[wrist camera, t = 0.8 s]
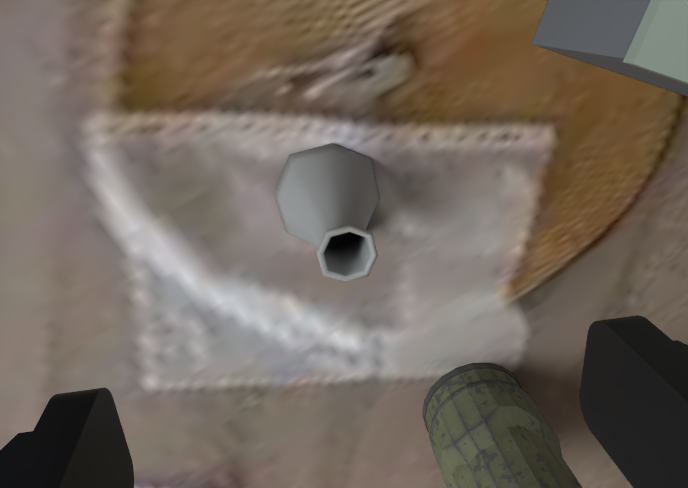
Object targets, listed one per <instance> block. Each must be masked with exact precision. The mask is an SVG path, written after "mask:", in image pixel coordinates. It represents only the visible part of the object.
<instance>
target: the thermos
mask: <svg viewBox="0 0 688 488" xmlns="http://www.w3.org/2000/svg"><path fill="white" fill-rule="evenodd" d="M423 418H424V422H425V426H426V428H427V431H428V432H429V433H430V434H429V438H430V441H431V445H432V449H433V452H434V454H435V457H436V460H437V462H438V465H439V467H440V470H441V473H442V475H443V478H444V480H445V483H446V486H447V488H582V487H581V485H580V484H579V482H578V480H577V479H576V477H575V476H574V474H573V473H572V471H571V470H570V468H569V467H568V465H567V464H566V462H565V461H564V459H563V458H562V454H561V449H560V443H559V439H558V437H557V436H556V434H555V432H554V431H553V429H552V428H551V426H550V425H549V423H548V422H547V420H546V419H545V417H544V416H543V414H542V413H541V411H540V410H539V409H538V407H537V406H536V404H535V403H534V401H533V400H532V398H531V397H530V395H529V394H528V393H527V392H526V391H524V390H523V389H522V388H521V386H520V385H519V383H518V381H517V380H516V378H515V377H514V375H513V374H512V373H510V372H509V371H507V370H506V369H505V368H503V367H501V366H498V365H494V364H490V363H472V364H468V365H465V366H462V367H459V368H456V369H454V370H452V371H451V372H449V373H447V374H446V375H444V376H442V377H441V378H440V379H439V380H438V381H437V382H436V383H435V384H434V386H433V387H432V388H431V389H430V391H429V393H428V395H427V397H426V399H425V401H424V407H423Z"/></svg>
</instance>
